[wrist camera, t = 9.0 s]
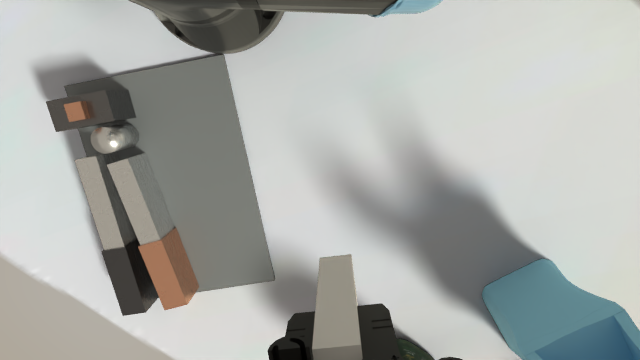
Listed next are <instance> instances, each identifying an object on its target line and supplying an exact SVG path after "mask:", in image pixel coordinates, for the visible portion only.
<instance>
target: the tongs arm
mask: <svg viewBox="0 0 640 360" xmlns="http://www.w3.org/2000/svg"><path fill="white" fill-rule="evenodd" d="M138 141H139V132H138V130H137V129H136V128H135V127H134V126H133V125H131V124H119V125H113V126H106V127H100V128H97V129H95V130H94V131H93V132H92V134H91V144H92V146H93V147H94V149H95V150H97V151H98V152H100V153H103V154H108V153H112V152H115V151H119V150H122V149H126V148H130V147H133V146H135V145H136V144H137V143H138ZM107 167H108V169H109V171H110V174H111V176H112V179H113V181H114V183H115V186H116V188H117V191H118V193H119V195H120V198H121V200H122V203H123V205H124V207H125V210H126V212H127V215H128V217H129V219H130V222H131V224H132V226H133V229H134V231H135V234H136V236H137V238H138V241H139V243H140V245H139V246H138V248H139V250H140V253H141V255H142V257H143V260H144V262H145V265H146V267H147V269H148V272H149V274H150V276H151V279H152V281H153V284H154V286H155V288H156V291H157V293H158V296H159V298H160V300H161V303H162V305H163V307H164V310H168V309H172V308H175V307H179V306H183V305H187V304H188V303H189V301H190V300H191V298H192V297H193V295H194V294H195V293H196V291H197V290H198V288H199V284H198V282H197V279H196V277H195V274H194V272H193V269H192V267H191V264H190V261H189V259H188V256H187V254H186V251H185V249H184V246H183V244H182V241H181V238H180V236H179V233H178V231H177V228H175V227H174V225H173V222H172V220H171V217H170V215H169V212H168V210H167V207H166V204H165V202H164V199H163V197H162V194H161V192H160V189H159V187H158V184H157V182H156V179H155V176H154V174H153V171H152V169H151V166H150V164H149V161H148V159H147V156H146V154H145V153H143V154H139V155H136V156H133V157H129V158H126V159H123V160H120V161H117V162H114V163H111V164H107Z"/></svg>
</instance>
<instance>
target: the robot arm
mask: <svg viewBox="0 0 640 360" xmlns="http://www.w3.org/2000/svg"><path fill="white" fill-rule="evenodd" d="M129 1H131V2H134V3H136V4H138V5H141V6H143V7H145V8H148V9H150V10H152V11H154V12H155V14H156V16H157V17H158V18H159V20H160V21H161V22H162V24H163V25H164V26H165V27H166V28H167V29H168V30H169V31H170V32H171V33H172V34H173V35H175V36H176V37H177V38H179V39H180V40H181V41H183V42H185V43H186V44H188V45H191V46H193V47H195V48H198V49H201V50H204V51H207V52H212V53H219V54H230V53H237V52H241V51H244V50H247V49H249V48H252V47H253V46H255V45H257V44H259V43H260V42H261V41H263V40H264V39H265V38H266V37H267V36H268V35H269V34H270V33H271V32H272V31H273V30H274V29H275V27H276V26H277V25H278V23H279V21H280V20H281V18H282V16H283V14H284V11H288V12H315V13H343V14H368V15H369V16H371V17H380V16H383V17H384V16H386V15H388V14H417V13H421V12H424V11H427V10H430V9H431V8H433V7H435V6H437V5H438V4H439V3H440V2H441V1H443V0H129ZM286 331H287V332H286V335H285V337H282V338H280V339H278V340H276V341H275V342H274V343H273V344H272V345H270V347H269V349H268V355H269V360H404V359H403V358H402V357H401V355H400V352H399V348H398V344H397V340H396V336H395V332H394V328H393V324H392V320H391V316H390V312H389V310H388V309H387V308H386V307H385V306H384V305H383V304H372V305H363V306H358V303H357V295H356V288H355V280H354V272H353V264H352V257H351V254H349V255H341V256H332V257H323V258H320V261H319V273H318V285H317V297H316V309H315V311H314V312H305V313H295V314H294V315H293V316H292V317H291V319H290V320H289V321H288V325H287V330H286ZM439 360H462V359H460V358H453V357H447V358H441V359H439Z"/></svg>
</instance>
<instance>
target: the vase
mask: <svg viewBox="0 0 640 360" xmlns="http://www.w3.org/2000/svg"><path fill="white" fill-rule="evenodd" d="M482 297H483V300H484V303H485V305H486V306H487V308H488V310H489V312H490V314H491V316H492V317H493V319H494V321H495V323H496V324H497V326H498V328H499V330H500V332H501V333H502V335H503V337H504V339H505V341H506V342H507V344H508V346H509V348H510V349H511V350H512V351H513V352H515V353H516V354H517V355H518V356H519V357H520V358H522V359H523V360H640V331H639V329H638V328H637V327H636V325H635V324H634V322H633V321H632V319H631V318H630V316H629V315H628V313H627V312H626V311H625V309H623V308H622V307H621V306H619V305H618V304H617V303H615V302H612V301H610V300H607V299H604V298H601V297H598V296H596V295H593V294H591V293H589V292H586V291H584V290H582V289H580V288H578V287H577V286H575V285H573V284H572V283H571V282H569V281H568V280H567V279H566V278H565V277H564V276H563V274H562V273H561V272H560V271H559V269H558V268H557V266H556V265H555V264H554V263H553V262H552V261H550V260H547V259H540V260H537V261H535V262H532V263H530V264H528V265H526V266H524V267H522V268H520V269H518V270H516V271H514V272H512V273H510V274H508V275H506V276H504V277H502V278H500V279H498V280H496V281H494V282H492V283H490V284H488V285H487V286H485V287H484V289H483V293H482Z"/></svg>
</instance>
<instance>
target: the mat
mask: <svg viewBox="0 0 640 360" xmlns="http://www.w3.org/2000/svg"><path fill="white" fill-rule="evenodd" d="M64 87H65V90H66V93H67V96H68V97H72V96H77V95H83V94H88V93H93V92H98V91H103V90H129V93H130V97H131V100H132V104H133V107H134V111H135V114H136V118H133V119H128V120H122V121H117V122H112V123H107V124H101V125H96V126H91V127H85V128H79V129H78V130H79V133H80V136H81V139H82V143H83V146H84V149H85V152H86V155H87V157H88V156H92V155H96V154H101V153H100V152H98V151H97V150H95V149H94V147H93V146H92V144H91V134H92V132H93V131H94V130H95V129H97V128H100V127H106V126H113V125H119V124H131V125H133V126H134V127H135V128H136V129H137V130H138V132H139V141H138V143H137V144H136V145H135V146H133V147H130V148H126V149H122V150H119V151H116V152H117V155H118V158H119V161H120V160H123V159H126V158H129V157H133V156H136V155H139V154H143V153H145V154H146V156H147V159H148V161H149V164H150V166H151V169H152V171H153V174H154V176H155V179H156V182H157V184H158V187H159V189H160V192H161V194H162V197H163V199H164V202H165V204H166V207H167V210H168V212H169V215H170V217H171V220H172V222H173V225H174V227H175V228H177V231H178V233H179V236H180V238H181V241H182V244H183V246H184V249H185V251H186V254H187V256H188V259H189V261H190V264H191V267H192V269H193V272H194V274H195V277H196V279H197V282H198V284H199V288H198V290H197V291H196V292H202V291H209V290H215V289H222V288H229V287H235V286H242V285H248V284H255V283H262V282H268V281H274V280H275V277H274V273H273V268H272V264H271V260H270V255H269V251H268V246H267V242H266V238H265V233H264V229H263V224H262V220H261V216H260V211H259V207H258V202H257V198H256V194H255V189H254V185H253V180H252V176H251V172H250V167H249V163H248V158H247V154H246V150H245V145H244V141H243V136H242V132H241V128H240V123H239V119H238V114H237V110H236V106H235V101H234V97H233V92H232V88H231V84H230V79H229V75H228V70H227V66H226V62H225V57H224V55H218V56H213V57H208V58H203V59H198V60H193V61H188V62H183V63H178V64H173V65H168V66H163V67H158V68H153V69H148V70H143V71H138V72H133V73H128V74H123V75H118V76H113V77H108V78H102V79H97V80H92V81H87V82H82V83H77V84H72V85H67V86H64ZM158 298H159V297H158Z"/></svg>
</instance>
